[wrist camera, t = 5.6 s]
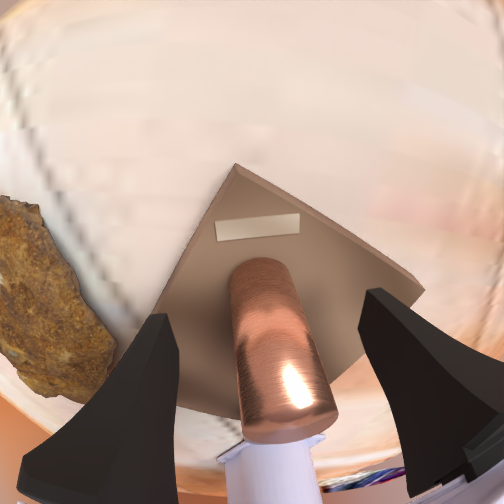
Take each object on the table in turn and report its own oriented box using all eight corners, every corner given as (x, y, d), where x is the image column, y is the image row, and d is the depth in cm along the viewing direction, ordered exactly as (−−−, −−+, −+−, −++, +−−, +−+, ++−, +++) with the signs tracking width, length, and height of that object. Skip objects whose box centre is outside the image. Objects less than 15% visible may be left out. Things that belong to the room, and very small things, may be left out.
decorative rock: (173, 355, 18) (39, 140, 11) (171, 407, 14) (-11, 156, 7) (60, 386, 18) (-55, 235, 11) (48, 426, 15) (-89, 265, 8)
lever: (291, 417, 19) (308, 495, 13) (243, 424, 19) (252, 504, 13) (303, 252, 12) (365, 388, 6) (213, 262, 12) (215, 413, 6)
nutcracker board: (272, 410, 21) (275, 426, 20) (124, 370, 17) (120, 389, 16) (412, 275, 16) (426, 290, 14) (235, 163, 11) (238, 173, 10)
